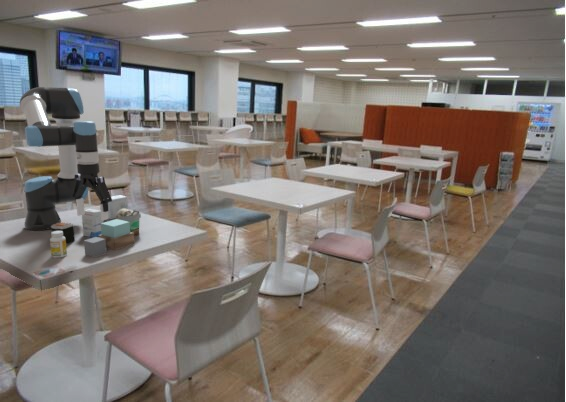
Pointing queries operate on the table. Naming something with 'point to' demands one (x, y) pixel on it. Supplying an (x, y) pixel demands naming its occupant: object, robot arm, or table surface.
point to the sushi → (65, 231)
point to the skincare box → (116, 205)
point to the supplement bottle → (58, 244)
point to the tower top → (115, 228)
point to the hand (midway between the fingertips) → (92, 217)
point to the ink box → (92, 223)
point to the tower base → (118, 241)
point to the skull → (122, 213)
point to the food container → (132, 221)
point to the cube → (95, 246)
